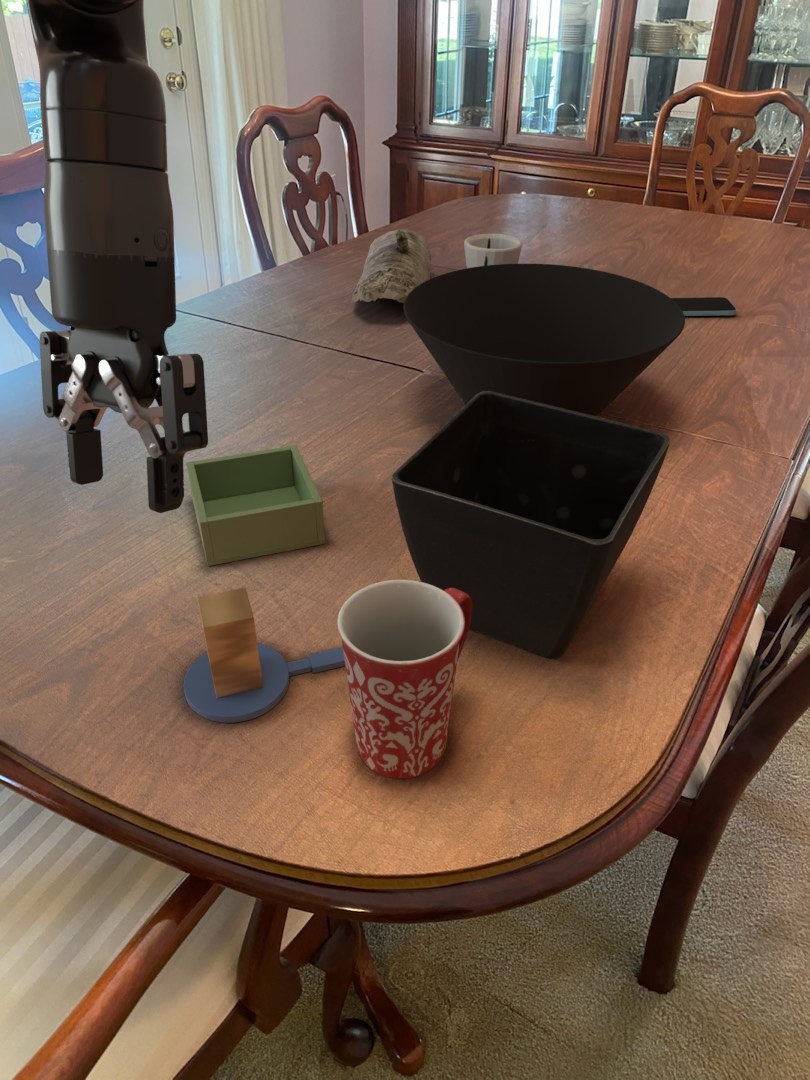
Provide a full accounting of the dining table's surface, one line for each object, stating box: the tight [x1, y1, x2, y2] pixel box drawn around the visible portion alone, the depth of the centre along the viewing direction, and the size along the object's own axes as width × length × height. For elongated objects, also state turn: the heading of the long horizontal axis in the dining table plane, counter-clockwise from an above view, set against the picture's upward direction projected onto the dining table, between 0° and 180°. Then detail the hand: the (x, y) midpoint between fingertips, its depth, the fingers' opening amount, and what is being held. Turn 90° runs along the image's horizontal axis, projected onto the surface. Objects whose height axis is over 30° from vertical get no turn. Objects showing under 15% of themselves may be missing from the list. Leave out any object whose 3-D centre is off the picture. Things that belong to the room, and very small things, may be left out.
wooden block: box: [196, 587, 263, 698], centre depth 68 cm, size 4×4×8 cm
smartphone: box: [670, 296, 738, 317], centre depth 145 cm, size 7×1×15 cm
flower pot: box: [391, 391, 672, 660], centre depth 75 cm, size 19×19×17 cm
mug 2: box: [463, 233, 523, 269], centre depth 150 cm, size 10×15×10 cm
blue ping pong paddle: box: [183, 642, 345, 724], centre depth 72 cm, size 18×9×1 cm, turn 109°
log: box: [351, 228, 432, 304], centre depth 148 cm, size 14×12×30 cm
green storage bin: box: [185, 444, 326, 567], centre depth 89 cm, size 13×13×6 cm
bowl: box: [403, 263, 686, 417], centre depth 109 cm, size 36×36×15 cm
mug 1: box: [336, 579, 472, 779], centre depth 63 cm, size 13×9×14 cm
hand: (125, 495), depth 56 cm, fingers open, 8 cm apart
